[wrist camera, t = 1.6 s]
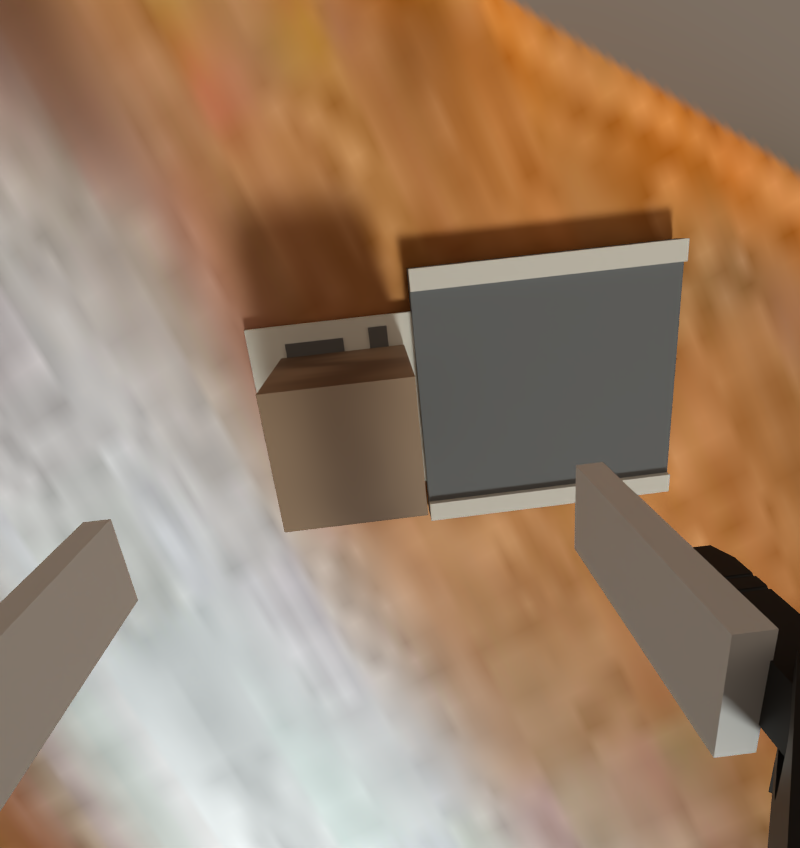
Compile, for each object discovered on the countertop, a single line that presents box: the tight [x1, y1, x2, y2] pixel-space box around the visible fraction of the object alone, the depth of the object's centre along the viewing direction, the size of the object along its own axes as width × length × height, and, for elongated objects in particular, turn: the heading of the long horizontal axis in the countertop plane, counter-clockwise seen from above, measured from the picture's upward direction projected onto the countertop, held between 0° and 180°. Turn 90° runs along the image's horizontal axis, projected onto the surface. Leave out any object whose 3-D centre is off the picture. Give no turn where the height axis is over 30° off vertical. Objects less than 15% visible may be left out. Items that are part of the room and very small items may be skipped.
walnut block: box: [256, 345, 428, 532], centre depth 23 cm, size 6×6×6 cm
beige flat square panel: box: [244, 311, 427, 481], centre depth 26 cm, size 9×9×1 cm
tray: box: [407, 238, 689, 521], centre depth 26 cm, size 13×13×1 cm
